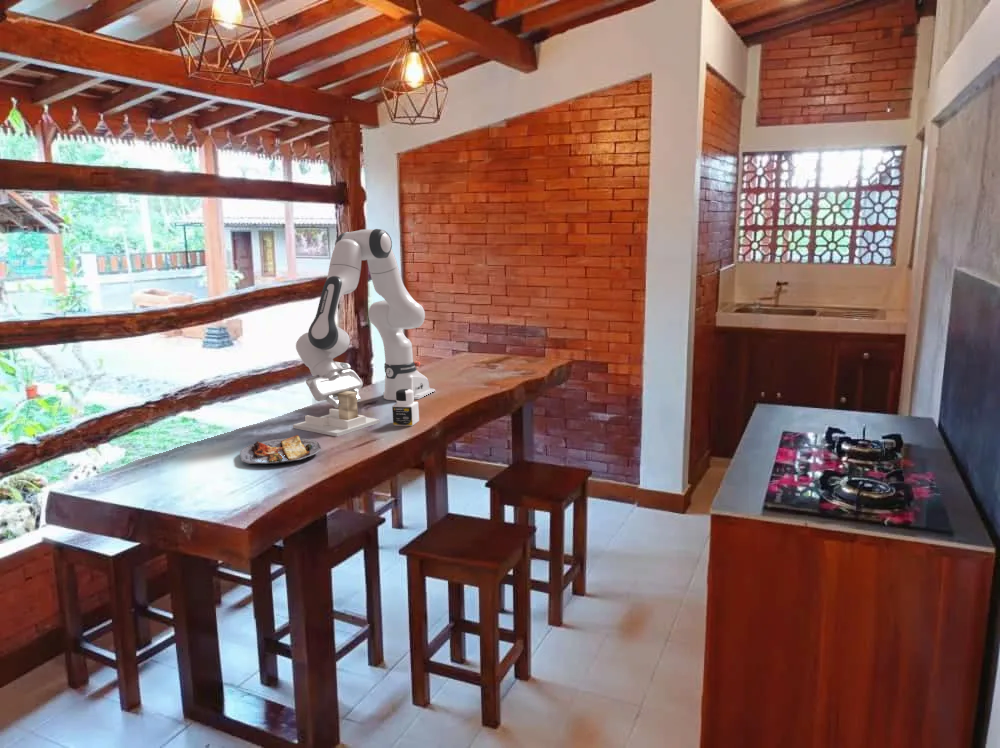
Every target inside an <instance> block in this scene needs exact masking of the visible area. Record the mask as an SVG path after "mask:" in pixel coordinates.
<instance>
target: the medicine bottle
mask: <svg viewBox="0 0 1000 748" xmlns="http://www.w3.org/2000/svg"><path fill="white" fill-rule="evenodd" d="M395 401H396V403H395V404H393V405H392V424H393V427H394V426H397V427H398V426H399V427H414V426H415V425H416V424H417V423H418V422H420V411H419V410H420V409H419V401H415V399H414V394H413V391H412V390H410V389H401V390H398V391H397V392H396V400H395Z"/></svg>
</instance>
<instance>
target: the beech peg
mask: <svg viewBox="0 0 1000 748" xmlns="http://www.w3.org/2000/svg"><path fill="white" fill-rule="evenodd" d="M337 395H338V397H337V401H339V402H340V404H341V406H340V407H338V408H337V409H338V410H339V419H343V420H350V419H354V418H357V417H358V415H359V411H358V402H357V395H356V392H351V391H345V392H341V393H338V394H337Z"/></svg>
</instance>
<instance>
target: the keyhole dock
mask: <svg viewBox="0 0 1000 748" xmlns="http://www.w3.org/2000/svg"><path fill="white" fill-rule="evenodd" d="M304 419H305V421H302V422H298V423H297V422H296V423H294V424H293V425H292V426H293V429H297V430H301V431H307V432H311V433H318V434H322V435H326V436H327V435H328V436H330V437H331V436H332V437H337V438H338V437H341V436H343V435H346V434H350V433H352V432H356V431H359V430H361V429H366V428H368V427H370V426H374V425H376V424H377V425H378V424H380V423H381V422H380V421H381V420H380V419H379V418H374V417H373V418H372V417H367V416H366V415H361V414H358V417H357V418H354V419H350V420H343V419H339V408H329V413H328V414H326V415H322V416H313V415H305V416H304Z"/></svg>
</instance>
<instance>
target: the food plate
mask: <svg viewBox="0 0 1000 748" xmlns="http://www.w3.org/2000/svg"><path fill="white" fill-rule="evenodd" d="M320 451H321V445H320V443H319V442H318V441H317V440H315V439H311V438H303V437H300V436H299V435H298V434H296V435H293V436H290V437H288V438H287V437H285V438H274V439H268V440H263V441H260V442H259V441H255V443H251V444H249V445H248V446H246V447H244V448H242V449H241V450H239V453H240V461H241V462H243V463H246V464H253V465H254V464H258V465H259V464H261V465H266V464H267V465H278V464H284V463H285V462H286V463H291V462H297V461H302V460H305V459H306V458H308V457H312V456H314V455H316V454H317V453H319V452H320ZM280 454H281V455H282V456H284V455H285V456H284V458H282V456H281V455H280ZM285 458H287V459H288V460H284V459H285ZM258 460H260V461H258ZM263 461H264V462H263Z"/></svg>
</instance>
